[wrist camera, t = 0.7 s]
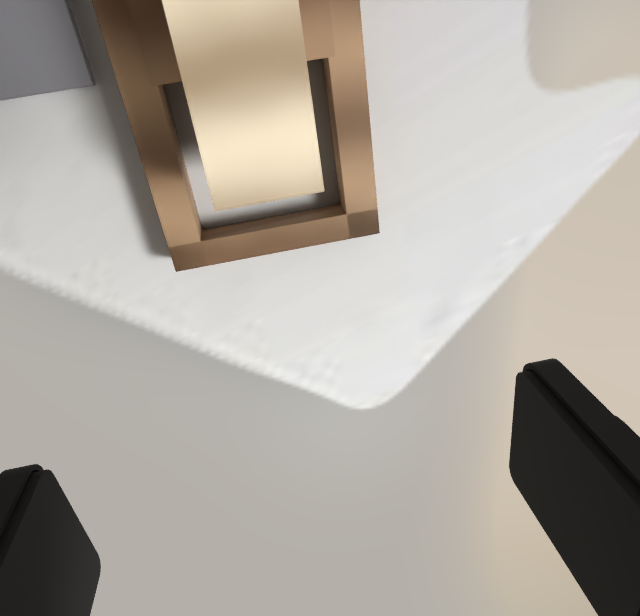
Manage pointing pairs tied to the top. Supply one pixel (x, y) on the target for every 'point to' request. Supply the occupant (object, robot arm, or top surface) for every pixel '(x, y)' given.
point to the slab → (248, 97)
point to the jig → (165, 153)
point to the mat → (40, 49)
